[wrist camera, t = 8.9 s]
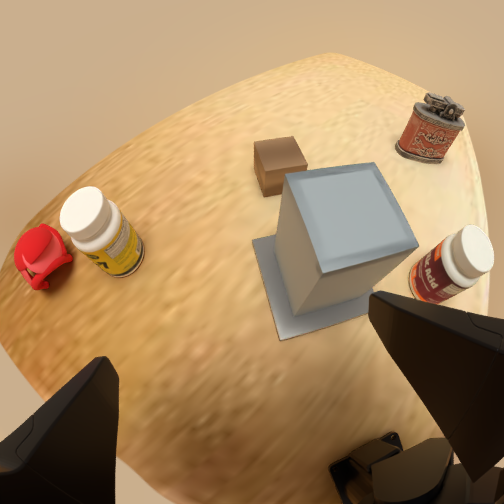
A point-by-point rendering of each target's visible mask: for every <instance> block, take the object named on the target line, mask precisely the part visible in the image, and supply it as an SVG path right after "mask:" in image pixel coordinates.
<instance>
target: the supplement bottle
mask: <svg viewBox="0 0 504 504" xmlns="http://www.w3.org/2000/svg"><path fill="white" fill-rule="evenodd" d="M60 224H61V226H62V228H63V229H64V230H65V231H66V232H67V234H68V235H69V236H70V237H71V239H72V242H73V244H74V245H75V246H76V247H77V248H78V249H79V250H80V251H81V252H82V253H83V254H84V255H86V256H87V257H88V258H89V259H90V260H92V261H93V262H94V263H95V264H96V265H98V266H99V267H100V268H101V269H102V270H104V271H105V272H106V273H108V274H109V275H111V276H114V277H124V276H127V275H129V274H131V273H133V272H134V271H135V270H136V269H137V268H138V266H139V265H140V263H141V261H142V259H143V256H144V246H143V242H142V240H141V239H140V237H139V236H138V235H137V233H136V232H135V230H134V229H133V228H132V226H131V225H130V224H129V222H128V221H127V219H126V218H125V217H124V215H123V214H122V212H121V211H120V209H119V208H118V207H117V205H116V204H115V203H113V202H112V201H110V200H107V198H106V197H105V196H104V195H103V193H102V192H101V191H100V190H99V189H98V188H96V187H91V186H90V187H84V188H81V189H79V190H77V191H76V192H75V193H73V194H72V195H71V196H70V197H69V198H68V199H67V201H66V202H65V203H64V205H63V207H62V210H61V213H60Z"/></svg>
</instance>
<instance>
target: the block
mask: <svg viewBox="0 0 504 504" xmlns="http://www.w3.org/2000/svg"><path fill="white" fill-rule="evenodd" d="M307 166H308V164H307V162H306V160H305V158H304V156H303V154H302V152H301V150H300V148H299V146H298V144H297V142H296V140H295V139H294V137H293V136H291V137H283V138H276V139H269V140H263V141H256V142H254V170H255V173H256V176H257V179H258V181H259V184H260V187H261V190H262V193H263V196H264V197H269V196H274V195H279V194H282V191H283V184H284V177H285V174H288V173H294V172H300V171H306V170H307Z"/></svg>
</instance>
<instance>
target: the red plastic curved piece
mask: <svg viewBox="0 0 504 504" xmlns="http://www.w3.org/2000/svg"><path fill="white" fill-rule="evenodd" d="M72 260H73V258H72V256H71V255H70V254H67V251H66V248H65V245H64V243H63V240H62V238H61V236H60V234H59V233H58V231H57V230H55V229H54V228H52V227H50V226H48V225H46V224H43V223H42V224H40V226H39V227H35V228H32V229H30V230H28V231H27V232H26V233H24V234H23V235H22V237H21V238H20V239H19V241H18V243H17V245H16V248H15V252H14V261H15V265H16V267H17V269H18V270H19V271H21V274H22V275H23V277H24V278H25V279H26V281H27V282H28V283H29V284H30V285H31V286H32V288H33V289H34V290H40V289H47V288H48V287H49V283H48V282H47V281H42V280H43V279H44V278H45V277H46V276H47V275H48V274H50V273H51V272H52V271H53V270H55V269H56V268H57V267H59V266H60V265H62V264H64V263H67V262H71V261H72ZM27 268H29V269H30V270H31V271H33V272H35V273H37V274H36V275H35V276H34V277H33V276H32V275H31V274H30V273H29V272H28V271H27Z"/></svg>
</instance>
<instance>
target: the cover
mask: <svg viewBox="0 0 504 504" xmlns="http://www.w3.org/2000/svg"><path fill="white" fill-rule="evenodd" d="M418 247H419V244H418V242H417V240H416V238H415V236H414V234H413V231H412V229H411V227H410V225H409V223H408V221H407V219H406V217H405V215H404V213H403V212H402V210H401V208H400V206H399V204H398V202H397V200H396V198H395V197H394V195H393V193H392V191H391V189H390V188H389V186H388V184H387V182H386V181H385V179H384V177H383V176H382V174H381V172H380V171H379V169H378V167H377V166H376V164H375V163H374V162H371V163H362V164H353V165H344V166H336V167H328V168H321V169H314V170H307V171H300V172H294V173H288V174H285V177H284V184H283V191H282V198H281V205H280V212H279V219H278V226H277V233H276V239H275V246H274V253H275V256H276V260H277V263H278V266H279V270H280V273H281V276H282V280H283V283H284V286H285V290H286V293H287V297H288V300H289V303H290V307H291V310H292V314H293V317H295V316H299V315H303V314H306V313H310V312H313V311H317V310H320V309H324V308H327V307H331V306H334V305H337V304H341V303H344V302H347V301H350V300H353V299H356V298H360V297H361V296H362V295H363V294H365V293H366V292H367V291H368V290H369V289H371V288H372V287H373V286H374V285H376V284H377V283H378V282H379V281H380V280H382V279H383V278H384V277H385V276H386V275H387V274H389V273H390V272H391V271H392V270H393V269H394V268H395V267H397V266H398V265H399V264H400V263H401V262H402V261H403V260H405V259H406V258H407V257H408V256H409V255H410V254H411V253H412V252H413V251H414V250H415V249H417V248H418Z"/></svg>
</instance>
